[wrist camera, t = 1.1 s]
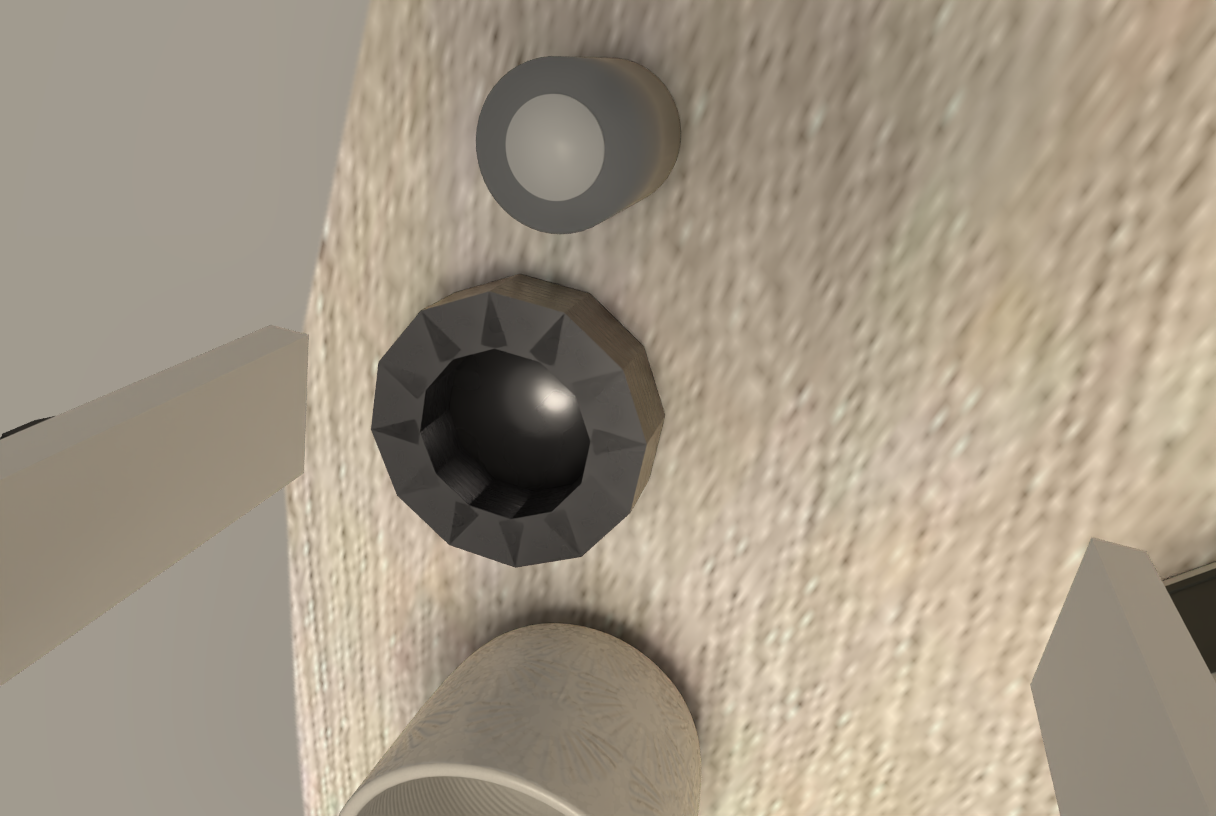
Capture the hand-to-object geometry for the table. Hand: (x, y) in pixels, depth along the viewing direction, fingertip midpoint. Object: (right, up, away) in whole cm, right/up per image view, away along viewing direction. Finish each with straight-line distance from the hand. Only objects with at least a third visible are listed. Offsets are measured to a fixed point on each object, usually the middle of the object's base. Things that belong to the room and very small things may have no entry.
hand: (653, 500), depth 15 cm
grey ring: (-4, +1, +22) cm, 22 cm away
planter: (-2, -12, +26) cm, 29 cm away
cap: (-1, +11, +17) cm, 20 cm away
